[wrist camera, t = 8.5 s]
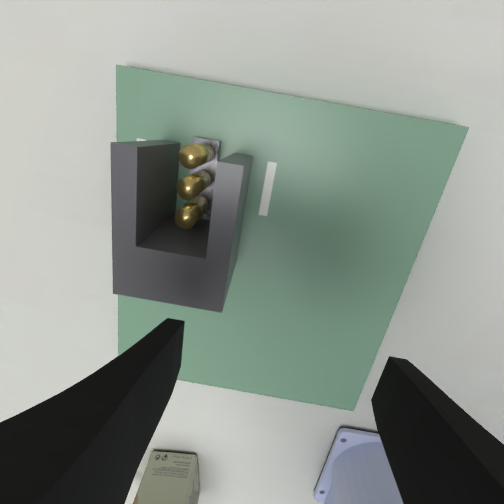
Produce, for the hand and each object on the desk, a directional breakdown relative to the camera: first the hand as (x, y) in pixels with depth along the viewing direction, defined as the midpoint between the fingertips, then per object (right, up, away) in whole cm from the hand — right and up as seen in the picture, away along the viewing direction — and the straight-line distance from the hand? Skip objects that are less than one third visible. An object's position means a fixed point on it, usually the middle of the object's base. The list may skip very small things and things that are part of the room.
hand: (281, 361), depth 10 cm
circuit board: (-1, +3, +9) cm, 10 cm away
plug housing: (-4, +7, +7) cm, 10 cm away
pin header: (-4, +8, +6) cm, 11 cm away
